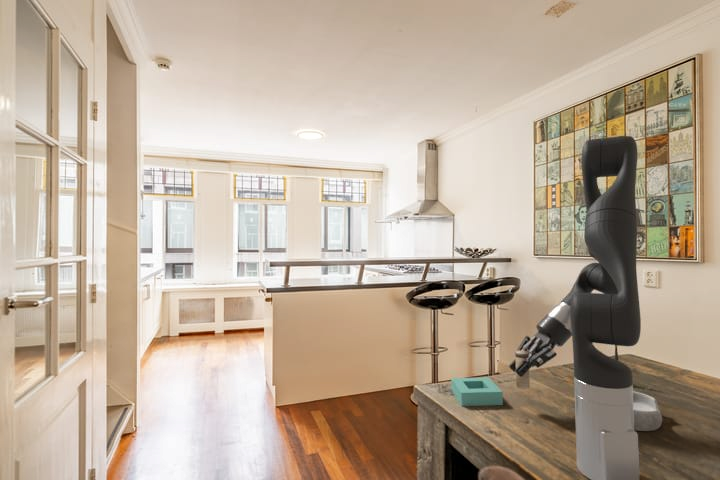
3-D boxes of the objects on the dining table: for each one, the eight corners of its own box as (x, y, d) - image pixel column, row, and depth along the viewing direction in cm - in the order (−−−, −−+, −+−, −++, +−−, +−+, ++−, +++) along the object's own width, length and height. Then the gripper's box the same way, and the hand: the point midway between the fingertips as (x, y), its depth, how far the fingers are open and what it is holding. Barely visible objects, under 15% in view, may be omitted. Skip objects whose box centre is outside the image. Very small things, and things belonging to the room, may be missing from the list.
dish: (648, 410, 96) (648, 390, 96) (678, 437, 83) (677, 414, 83) (584, 405, 100) (584, 386, 100) (603, 430, 87) (602, 408, 87)
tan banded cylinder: (532, 389, 96) (531, 353, 97) (519, 389, 96) (518, 353, 97) (526, 384, 100) (525, 350, 100) (514, 384, 100) (513, 350, 100)
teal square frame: (502, 404, 101) (502, 391, 101) (461, 406, 101) (461, 392, 101) (488, 389, 112) (488, 377, 112) (451, 390, 112) (451, 378, 112)
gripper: (537, 309, 106) (494, 354, 105) (564, 318, 92) (515, 369, 91) (556, 328, 105) (514, 373, 105) (586, 340, 91) (537, 391, 91)
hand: (514, 371), depth 98 cm, fingers closed on tan banded cylinder, 3 cm apart
